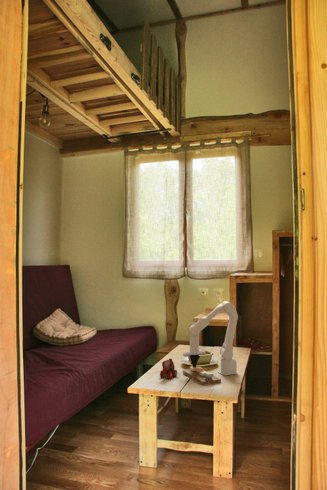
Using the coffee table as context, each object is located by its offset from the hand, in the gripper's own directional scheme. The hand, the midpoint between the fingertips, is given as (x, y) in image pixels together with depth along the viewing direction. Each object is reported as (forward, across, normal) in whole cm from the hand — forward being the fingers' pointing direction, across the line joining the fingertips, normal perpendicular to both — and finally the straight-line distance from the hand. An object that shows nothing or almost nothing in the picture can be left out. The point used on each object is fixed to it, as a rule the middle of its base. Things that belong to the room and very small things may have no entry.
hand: (194, 367), depth 245 cm
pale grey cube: (+2, 0, +18) cm, 18 cm away
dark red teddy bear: (+4, +17, 0) cm, 18 cm away
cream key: (+4, 0, 0) cm, 4 cm away
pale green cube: (+4, 0, +12) cm, 13 cm away
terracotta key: (+3, 0, +6) cm, 6 cm away
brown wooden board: (+4, 0, +9) cm, 10 cm away
